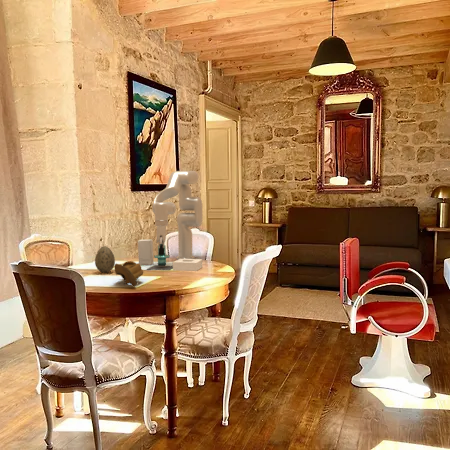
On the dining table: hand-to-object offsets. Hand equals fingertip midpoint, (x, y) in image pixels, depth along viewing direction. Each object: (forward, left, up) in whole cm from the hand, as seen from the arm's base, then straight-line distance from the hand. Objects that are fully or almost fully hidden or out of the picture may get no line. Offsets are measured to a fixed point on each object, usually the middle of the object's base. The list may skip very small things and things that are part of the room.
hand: (161, 253), depth 256 cm
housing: (0, +16, -9) cm, 18 cm away
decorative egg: (+19, -27, -9) cm, 34 cm away
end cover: (0, 0, -7) cm, 7 cm away
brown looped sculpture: (+45, -2, -9) cm, 46 cm away
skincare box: (-13, -15, -9) cm, 22 cm away
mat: (0, 0, -9) cm, 9 cm away
